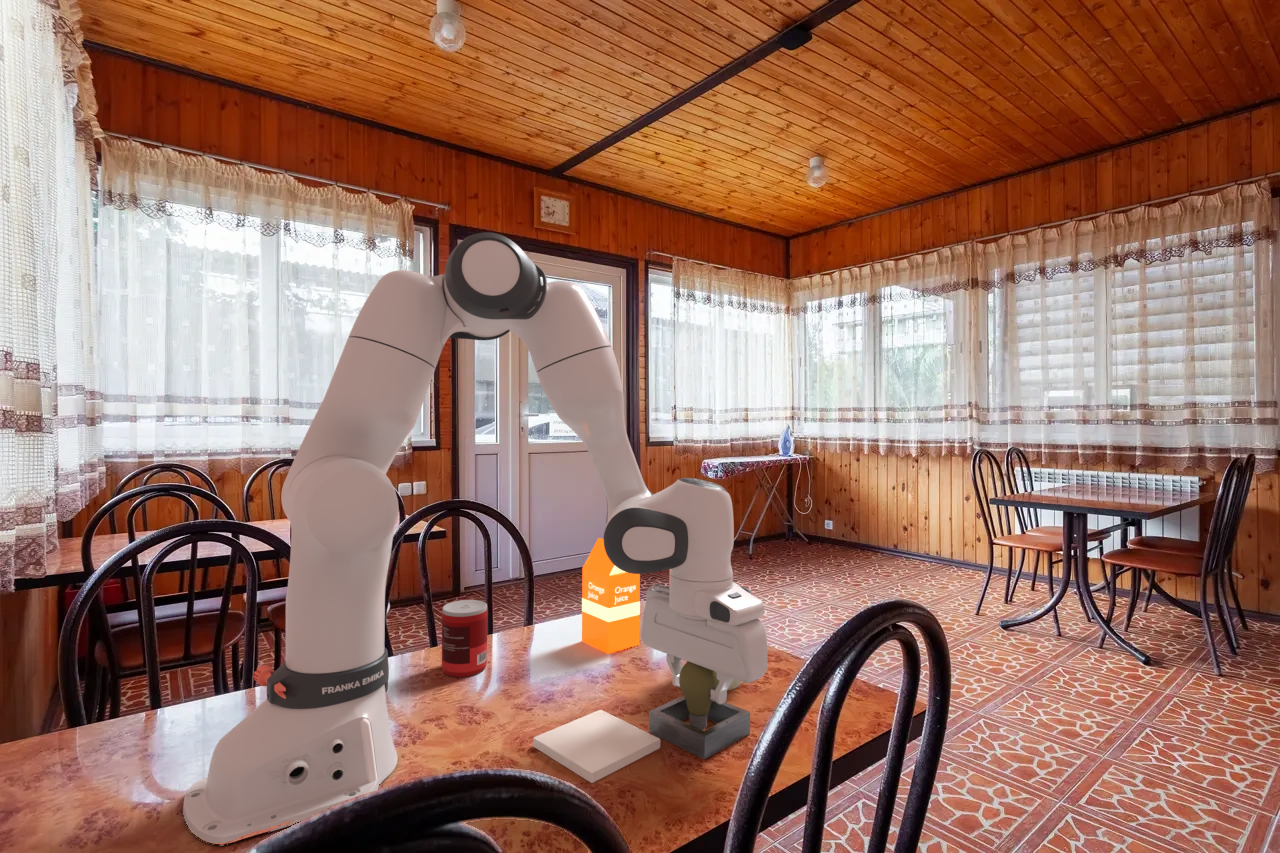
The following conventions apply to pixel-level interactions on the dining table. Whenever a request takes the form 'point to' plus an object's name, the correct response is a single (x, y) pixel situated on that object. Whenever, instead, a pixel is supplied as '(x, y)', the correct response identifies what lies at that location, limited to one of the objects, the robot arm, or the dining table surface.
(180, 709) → the dining table surface
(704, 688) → the light bulb
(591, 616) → the orange juice
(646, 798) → the dining table surface
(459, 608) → the canned food
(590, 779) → the cream pad
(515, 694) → the dining table surface
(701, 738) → the square socket
